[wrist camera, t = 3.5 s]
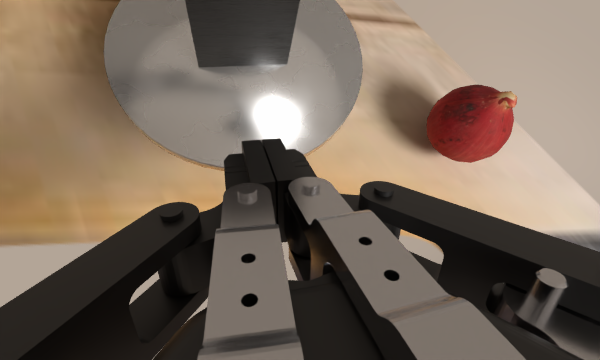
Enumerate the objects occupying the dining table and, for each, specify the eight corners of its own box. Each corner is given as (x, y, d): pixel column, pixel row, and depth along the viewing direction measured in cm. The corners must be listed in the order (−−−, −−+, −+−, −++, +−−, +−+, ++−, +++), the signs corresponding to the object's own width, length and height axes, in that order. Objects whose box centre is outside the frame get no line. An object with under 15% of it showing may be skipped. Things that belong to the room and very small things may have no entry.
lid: (110, 186, 16) (1, 105, 9) (109, -40, 20) (33, -222, 13) (381, 158, 19) (466, 80, 12) (334, -34, 23) (376, -180, 16)
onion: (411, 171, 28) (474, 128, 20) (408, 110, 30) (464, 51, 22) (474, 177, 29) (556, 139, 21) (467, 118, 30) (540, 64, 23)
